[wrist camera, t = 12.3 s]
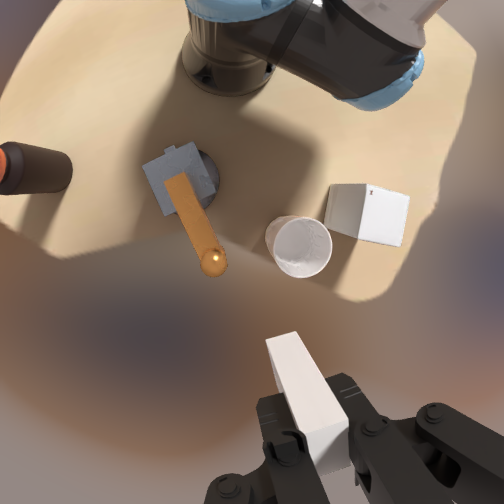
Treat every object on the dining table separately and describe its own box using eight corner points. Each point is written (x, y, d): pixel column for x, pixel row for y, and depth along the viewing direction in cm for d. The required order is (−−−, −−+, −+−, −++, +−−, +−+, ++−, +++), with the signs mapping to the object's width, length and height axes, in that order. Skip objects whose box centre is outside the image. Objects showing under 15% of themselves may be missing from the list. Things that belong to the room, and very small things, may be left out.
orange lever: (196, 262, 45) (190, 289, 32) (148, 158, 41) (124, 147, 29) (238, 242, 45) (248, 262, 33) (191, 138, 41) (183, 117, 29)
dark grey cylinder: (147, 158, 44) (133, 151, 35) (210, 142, 45) (210, 130, 36) (162, 221, 46) (151, 228, 37) (225, 205, 47) (228, 208, 38)
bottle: (46, 198, 42) (-30, 206, 23) (37, 161, 41) (-39, 153, 21) (77, 183, 43) (6, 182, 23) (68, 145, 41) (-3, 125, 22)
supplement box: (321, 227, 49) (355, 239, 37) (330, 182, 48) (366, 181, 36) (360, 235, 50) (401, 249, 38) (368, 192, 49) (411, 195, 37)
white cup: (316, 221, 49) (340, 228, 39) (299, 267, 50) (319, 285, 40) (270, 204, 48) (285, 208, 38) (254, 252, 49) (264, 268, 39)
